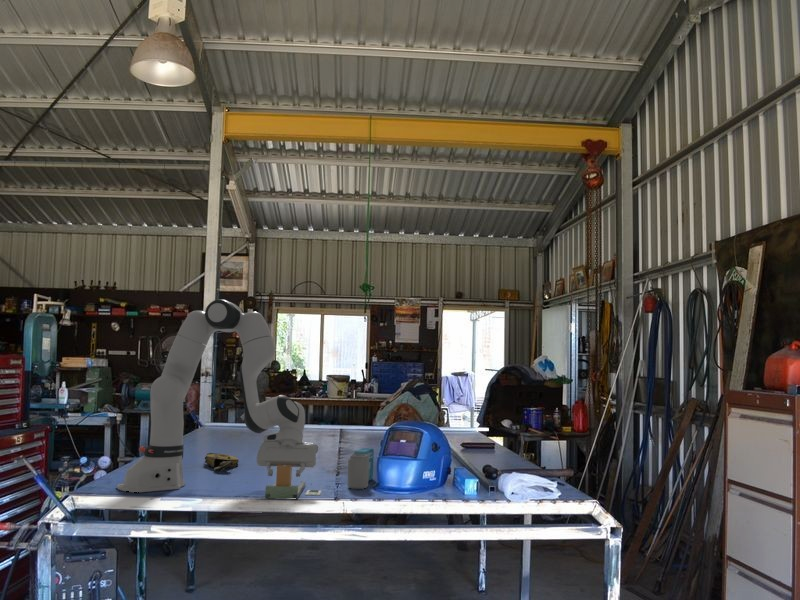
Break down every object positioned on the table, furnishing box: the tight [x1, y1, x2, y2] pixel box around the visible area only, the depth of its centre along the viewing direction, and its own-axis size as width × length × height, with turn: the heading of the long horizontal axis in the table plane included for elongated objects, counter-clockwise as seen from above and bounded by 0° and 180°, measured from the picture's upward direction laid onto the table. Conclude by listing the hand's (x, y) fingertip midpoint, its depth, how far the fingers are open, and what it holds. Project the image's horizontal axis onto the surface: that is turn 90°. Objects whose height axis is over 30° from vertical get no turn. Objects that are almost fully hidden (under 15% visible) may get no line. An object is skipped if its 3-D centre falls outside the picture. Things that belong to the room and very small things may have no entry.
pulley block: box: [204, 452, 239, 473], centre depth 277 cm, size 14×6×30 cm
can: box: [347, 453, 369, 490], centre depth 242 cm, size 8×8×12 cm
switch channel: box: [264, 481, 323, 500], centre depth 231 cm, size 24×17×4 cm
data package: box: [353, 447, 375, 482], centre depth 257 cm, size 12×4×12 cm, turn 166°
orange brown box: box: [275, 465, 293, 486], centre depth 224 cm, size 4×4×10 cm
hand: (284, 475), depth 223 cm, fingers open, 8 cm apart
